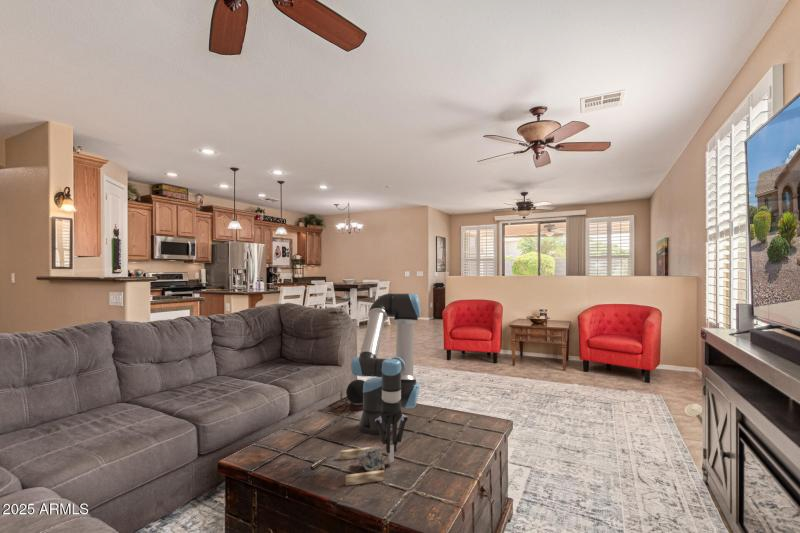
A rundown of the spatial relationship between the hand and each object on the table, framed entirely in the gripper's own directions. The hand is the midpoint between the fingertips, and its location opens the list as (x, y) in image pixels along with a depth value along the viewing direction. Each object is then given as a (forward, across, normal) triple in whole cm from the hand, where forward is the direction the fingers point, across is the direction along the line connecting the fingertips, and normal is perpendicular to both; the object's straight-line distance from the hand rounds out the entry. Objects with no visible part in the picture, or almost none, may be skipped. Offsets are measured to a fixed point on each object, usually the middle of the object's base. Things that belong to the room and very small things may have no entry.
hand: (391, 460), depth 149 cm
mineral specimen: (+2, +8, 0) cm, 8 cm away
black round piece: (+2, +4, -63) cm, 63 cm away
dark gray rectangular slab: (+2, +32, -1) cm, 32 cm away
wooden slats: (+2, +12, 0) cm, 12 cm away
